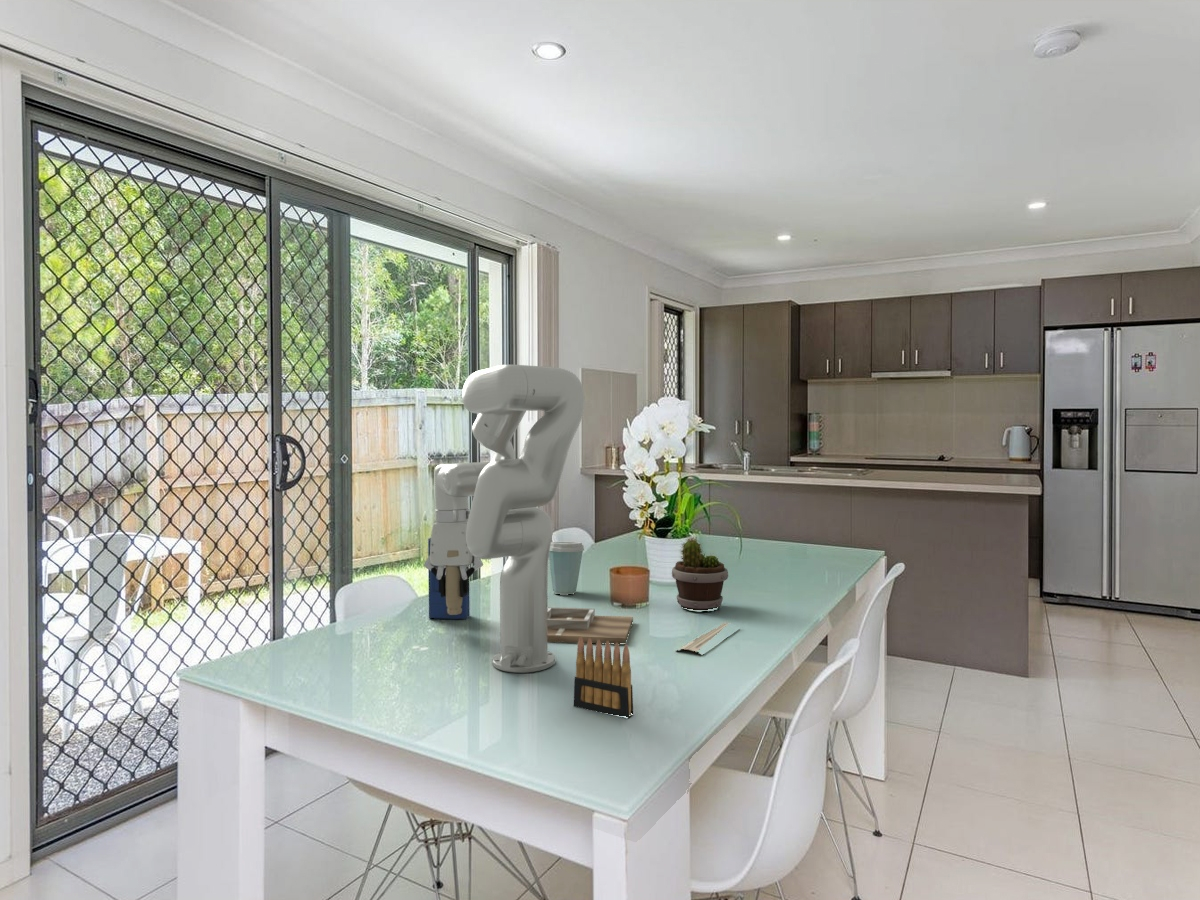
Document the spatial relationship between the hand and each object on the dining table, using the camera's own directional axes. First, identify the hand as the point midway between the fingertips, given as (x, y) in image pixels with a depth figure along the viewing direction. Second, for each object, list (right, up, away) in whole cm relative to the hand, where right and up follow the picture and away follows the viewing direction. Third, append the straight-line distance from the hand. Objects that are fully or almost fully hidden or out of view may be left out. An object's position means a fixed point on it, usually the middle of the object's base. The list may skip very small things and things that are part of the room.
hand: (454, 595), depth 168 cm
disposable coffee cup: (+24, -8, +40) cm, 47 cm away
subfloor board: (+30, -9, +1) cm, 31 cm away
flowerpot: (+60, -8, +23) cm, 65 cm away
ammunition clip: (+34, -10, -46) cm, 59 cm away
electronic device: (-4, -8, +13) cm, 16 cm away
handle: (0, -4, 0) cm, 4 cm away
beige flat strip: (+58, -10, -5) cm, 59 cm away
